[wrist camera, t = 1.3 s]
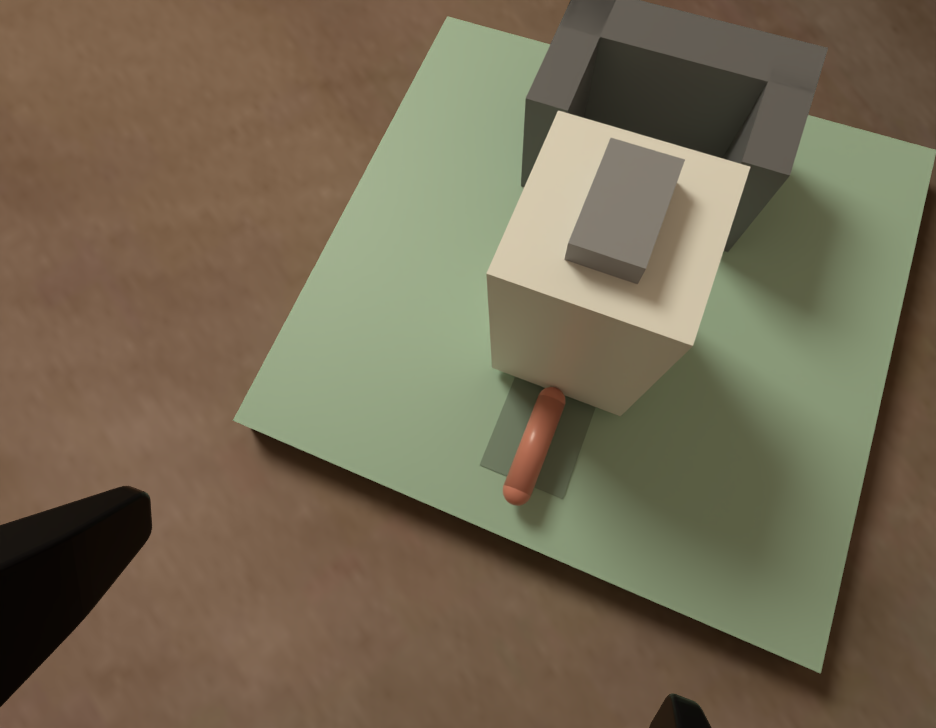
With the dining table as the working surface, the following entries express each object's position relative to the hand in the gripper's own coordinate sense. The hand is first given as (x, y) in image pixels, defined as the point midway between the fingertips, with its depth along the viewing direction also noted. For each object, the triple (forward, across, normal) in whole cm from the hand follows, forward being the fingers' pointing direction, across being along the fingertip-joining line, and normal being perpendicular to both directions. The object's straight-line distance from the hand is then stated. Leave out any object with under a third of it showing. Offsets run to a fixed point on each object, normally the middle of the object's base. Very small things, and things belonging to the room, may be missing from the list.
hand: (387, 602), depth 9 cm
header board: (+17, -2, -1) cm, 17 cm away
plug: (+13, -2, +1) cm, 13 cm away
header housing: (+20, -2, -6) cm, 21 cm away
